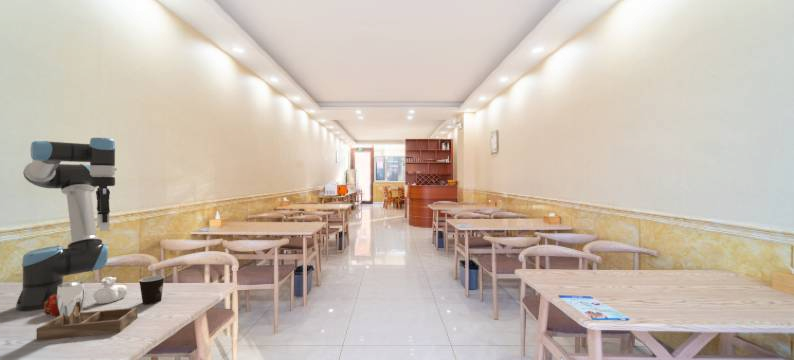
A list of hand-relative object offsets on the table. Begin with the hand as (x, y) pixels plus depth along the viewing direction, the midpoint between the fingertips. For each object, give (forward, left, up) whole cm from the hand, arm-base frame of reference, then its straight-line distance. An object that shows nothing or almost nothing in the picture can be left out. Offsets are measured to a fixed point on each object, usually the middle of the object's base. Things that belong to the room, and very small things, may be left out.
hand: (103, 229), depth 133 cm
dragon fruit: (0, -14, -33) cm, 36 cm away
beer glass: (+19, 0, -32) cm, 37 cm away
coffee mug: (-6, +16, -33) cm, 37 cm away
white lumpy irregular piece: (-11, -3, -33) cm, 35 cm away
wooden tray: (+19, +6, -33) cm, 38 cm away
